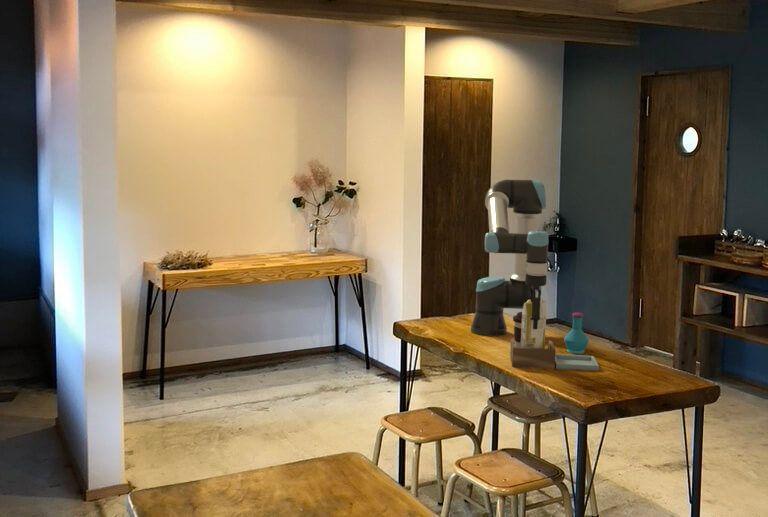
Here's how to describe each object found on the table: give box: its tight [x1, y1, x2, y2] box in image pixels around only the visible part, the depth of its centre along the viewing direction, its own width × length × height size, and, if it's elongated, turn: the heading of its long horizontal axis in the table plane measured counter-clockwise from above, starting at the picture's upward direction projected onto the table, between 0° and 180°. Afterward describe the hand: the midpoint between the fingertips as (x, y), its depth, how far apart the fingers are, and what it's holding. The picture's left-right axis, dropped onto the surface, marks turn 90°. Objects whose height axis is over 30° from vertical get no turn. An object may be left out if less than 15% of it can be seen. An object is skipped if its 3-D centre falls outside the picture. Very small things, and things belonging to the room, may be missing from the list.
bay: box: [509, 338, 557, 370], centre depth 315 cm, size 14×15×7 cm
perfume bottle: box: [563, 311, 589, 354], centre depth 333 cm, size 9×9×15 cm
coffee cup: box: [512, 311, 522, 348], centre depth 331 cm, size 10×10×15 cm
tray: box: [555, 353, 600, 372], centre depth 313 cm, size 14×15×2 cm
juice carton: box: [521, 298, 547, 349], centre depth 314 cm, size 9×8×24 cm
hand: (533, 334), depth 314 cm, fingers closed on juice carton, 10 cm apart
